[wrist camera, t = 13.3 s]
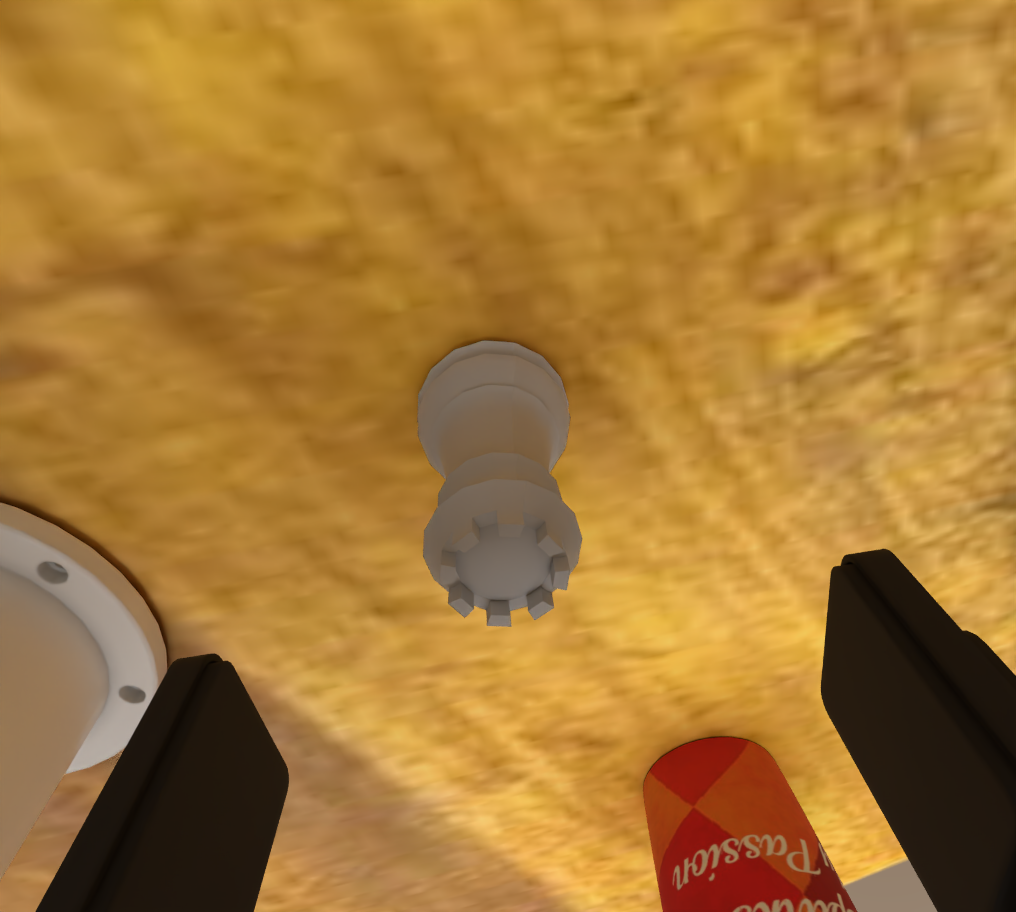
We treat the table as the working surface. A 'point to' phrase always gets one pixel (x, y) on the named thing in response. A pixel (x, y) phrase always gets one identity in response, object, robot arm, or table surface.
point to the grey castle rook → (497, 480)
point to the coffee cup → (734, 834)
